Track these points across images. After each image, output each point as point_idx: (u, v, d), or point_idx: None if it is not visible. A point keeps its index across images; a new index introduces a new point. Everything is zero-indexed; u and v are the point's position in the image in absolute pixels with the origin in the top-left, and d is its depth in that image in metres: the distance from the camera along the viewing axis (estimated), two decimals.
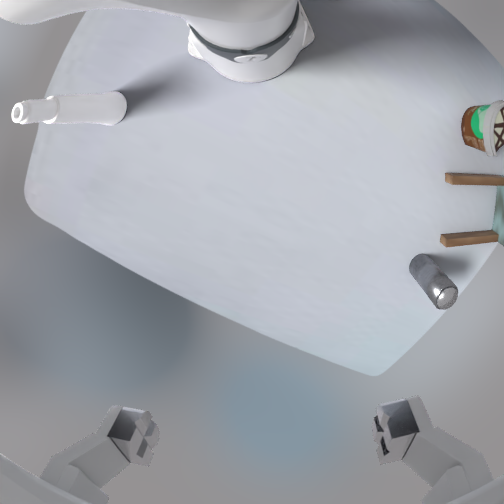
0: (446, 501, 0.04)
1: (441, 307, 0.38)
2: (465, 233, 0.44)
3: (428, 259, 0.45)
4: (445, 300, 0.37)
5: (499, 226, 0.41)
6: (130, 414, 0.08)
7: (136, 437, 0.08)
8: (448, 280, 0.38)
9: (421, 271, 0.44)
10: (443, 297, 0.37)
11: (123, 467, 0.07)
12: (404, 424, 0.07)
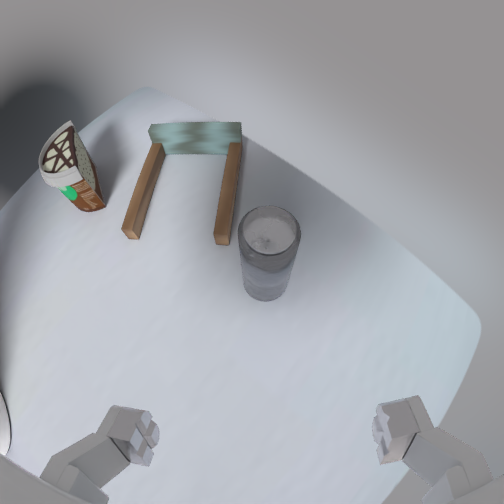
0: (446, 501, 0.04)
1: (289, 241, 0.21)
2: None
3: None
4: (272, 234, 0.21)
5: (218, 143, 0.38)
6: (130, 414, 0.08)
7: (136, 437, 0.08)
8: None
9: (252, 284, 0.27)
10: (262, 240, 0.21)
11: (123, 467, 0.07)
12: (404, 424, 0.07)
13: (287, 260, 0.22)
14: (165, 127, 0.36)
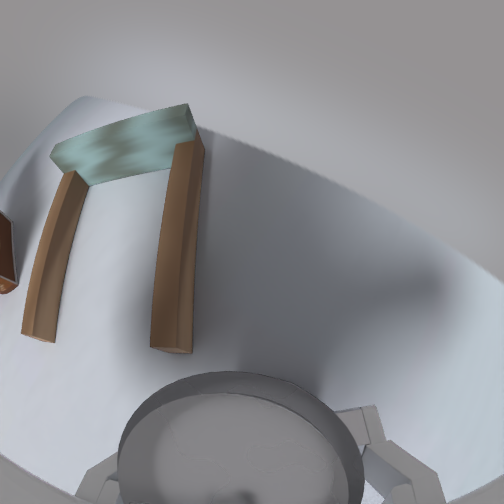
0: None
1: None
2: None
3: None
4: None
5: (157, 150, 0.21)
6: None
7: None
8: None
9: None
10: None
11: None
12: (354, 434, 0.07)
13: None
14: (71, 144, 0.19)
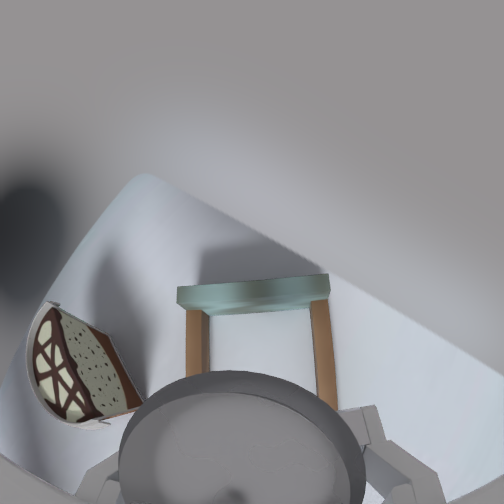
0: None
1: None
2: (317, 395, 0.23)
3: None
4: None
5: (292, 303, 0.26)
6: None
7: None
8: None
9: None
10: None
11: None
12: (354, 434, 0.07)
13: None
14: (204, 295, 0.24)
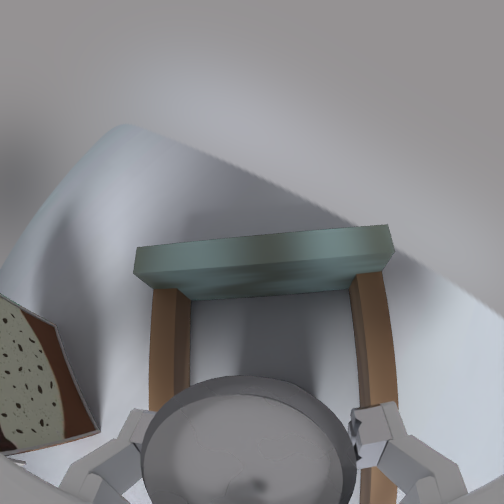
0: None
1: None
2: None
3: None
4: None
5: (326, 278, 0.15)
6: None
7: None
8: None
9: None
10: None
11: None
12: (376, 430, 0.07)
13: None
14: (178, 260, 0.14)
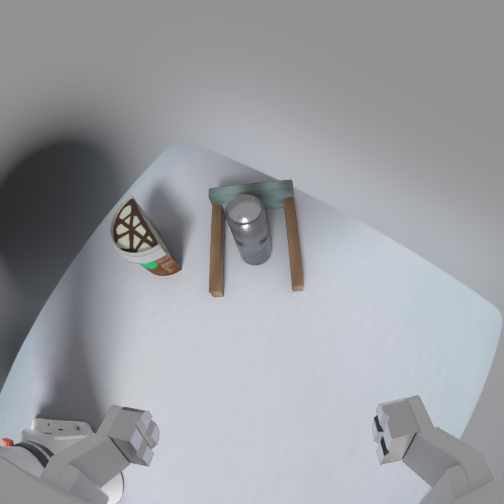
0: (446, 501, 0.04)
1: (256, 213, 0.34)
2: None
3: None
4: (245, 211, 0.34)
5: (273, 199, 0.45)
6: (130, 414, 0.08)
7: (136, 437, 0.08)
8: None
9: (243, 251, 0.40)
10: (240, 215, 0.34)
11: (123, 467, 0.07)
12: (404, 424, 0.07)
13: (258, 226, 0.35)
14: (224, 191, 0.44)
